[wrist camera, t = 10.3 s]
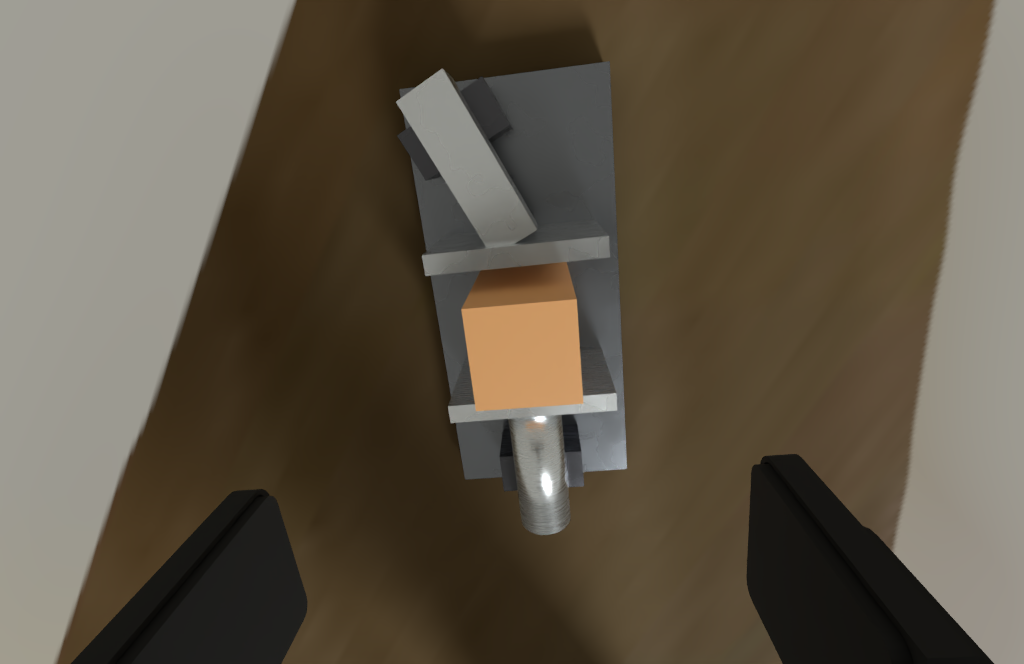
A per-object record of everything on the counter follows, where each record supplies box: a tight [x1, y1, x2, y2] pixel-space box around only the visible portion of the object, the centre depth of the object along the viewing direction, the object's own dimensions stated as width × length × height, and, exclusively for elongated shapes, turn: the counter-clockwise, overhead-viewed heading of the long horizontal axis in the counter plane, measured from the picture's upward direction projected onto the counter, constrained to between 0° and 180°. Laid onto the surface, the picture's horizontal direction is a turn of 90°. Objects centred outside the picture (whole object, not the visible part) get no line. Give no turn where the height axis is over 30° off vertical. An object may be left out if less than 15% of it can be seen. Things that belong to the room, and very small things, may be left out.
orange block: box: [461, 262, 583, 411], centre depth 21 cm, size 4×4×7 cm
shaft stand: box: [396, 61, 627, 535], centre depth 23 cm, size 20×9×6 cm, turn 6°
